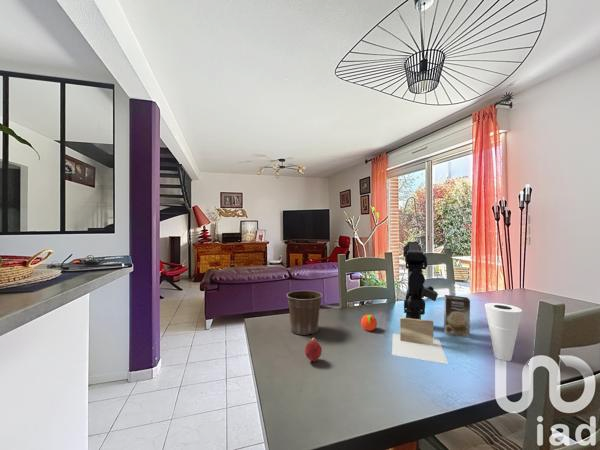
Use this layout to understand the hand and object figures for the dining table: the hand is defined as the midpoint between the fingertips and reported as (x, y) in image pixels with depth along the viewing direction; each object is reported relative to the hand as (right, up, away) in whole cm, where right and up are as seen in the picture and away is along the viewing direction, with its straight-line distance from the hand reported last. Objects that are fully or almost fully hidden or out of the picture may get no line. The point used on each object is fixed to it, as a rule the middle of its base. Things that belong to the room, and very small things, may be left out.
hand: (415, 317), depth 111 cm
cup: (+24, -8, -18) cm, 31 cm away
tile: (-2, -8, -7) cm, 10 cm away
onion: (-45, -8, -20) cm, 50 cm away
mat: (-4, -8, -11) cm, 14 cm away
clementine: (-18, -8, +6) cm, 21 cm away
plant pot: (-47, -8, +7) cm, 48 cm away
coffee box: (+19, -8, +2) cm, 21 cm away
